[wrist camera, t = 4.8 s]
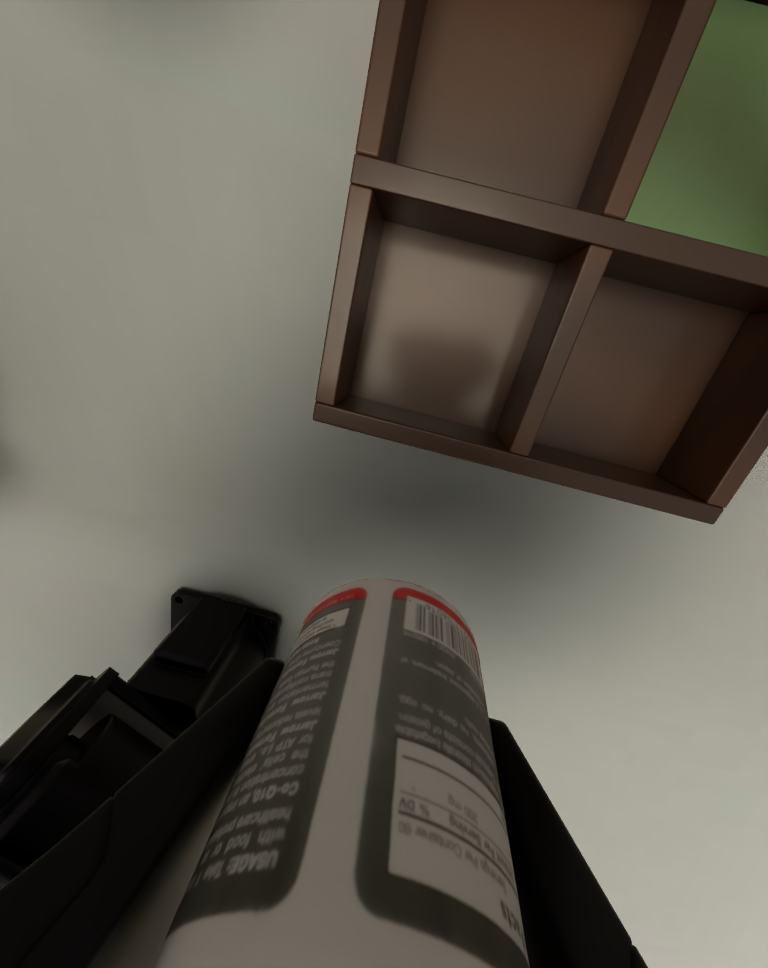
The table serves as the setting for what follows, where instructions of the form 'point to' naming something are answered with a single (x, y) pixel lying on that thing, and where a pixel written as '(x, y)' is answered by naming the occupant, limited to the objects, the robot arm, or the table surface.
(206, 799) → the robot arm
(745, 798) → the table surface
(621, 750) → the table surface
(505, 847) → the pill bottle
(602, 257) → the rack
